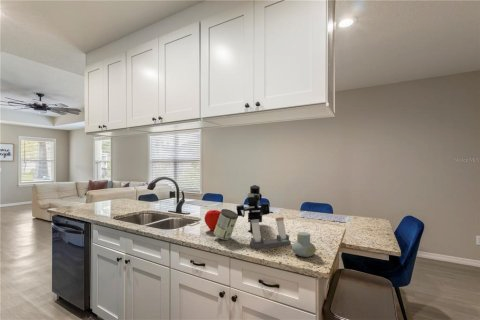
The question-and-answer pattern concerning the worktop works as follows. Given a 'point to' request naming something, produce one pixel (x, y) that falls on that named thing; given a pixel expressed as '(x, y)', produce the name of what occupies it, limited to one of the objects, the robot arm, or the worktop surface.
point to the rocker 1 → (256, 230)
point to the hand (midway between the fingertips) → (251, 215)
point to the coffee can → (225, 224)
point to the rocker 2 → (281, 227)
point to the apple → (212, 218)
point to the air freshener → (303, 245)
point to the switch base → (270, 242)
